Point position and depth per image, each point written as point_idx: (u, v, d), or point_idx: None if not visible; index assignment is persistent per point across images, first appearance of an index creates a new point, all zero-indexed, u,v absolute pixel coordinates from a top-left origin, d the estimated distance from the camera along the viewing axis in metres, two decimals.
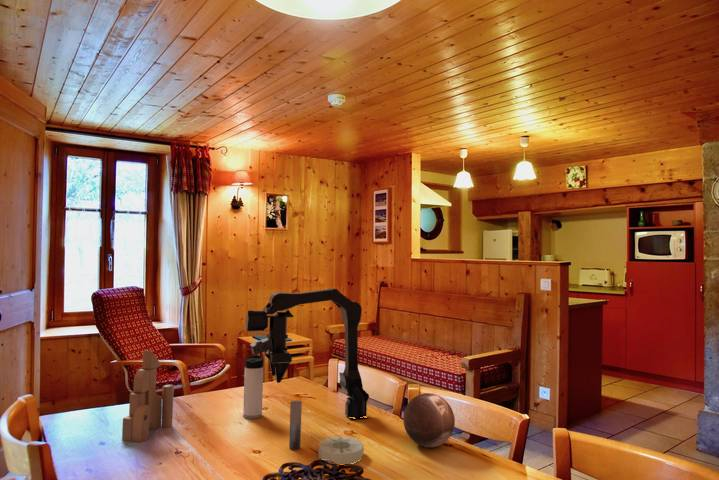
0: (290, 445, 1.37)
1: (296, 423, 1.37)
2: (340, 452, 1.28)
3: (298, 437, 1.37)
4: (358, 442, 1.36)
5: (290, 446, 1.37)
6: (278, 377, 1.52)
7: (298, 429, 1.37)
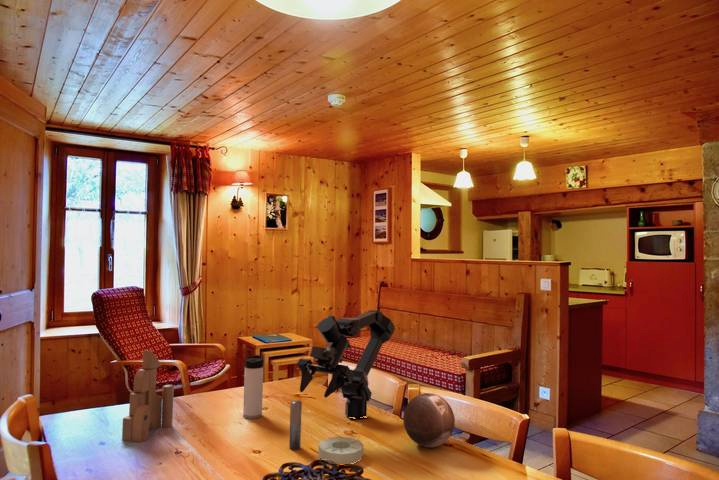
0: (290, 445, 1.37)
1: (296, 423, 1.37)
2: (340, 452, 1.28)
3: (298, 437, 1.37)
4: (358, 442, 1.36)
5: (290, 446, 1.37)
6: (329, 391, 1.44)
7: (298, 429, 1.37)
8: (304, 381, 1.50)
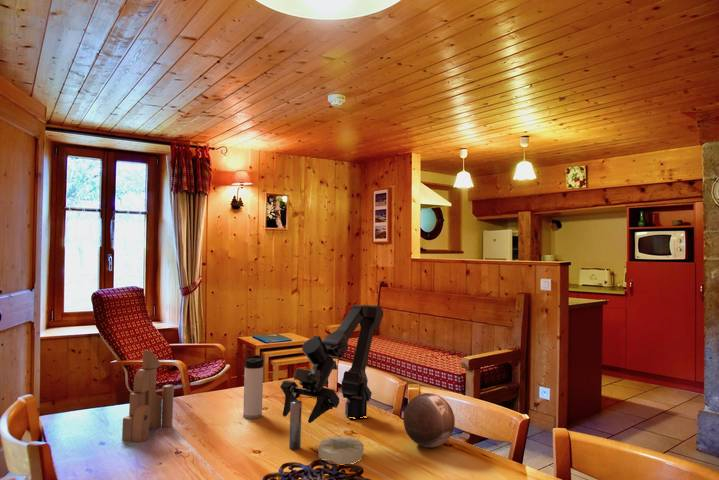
0: (290, 445, 1.37)
1: (296, 423, 1.37)
2: (340, 452, 1.28)
3: (298, 437, 1.37)
4: (358, 442, 1.36)
5: (290, 446, 1.37)
6: (313, 416, 1.37)
7: (298, 429, 1.37)
8: (288, 405, 1.43)
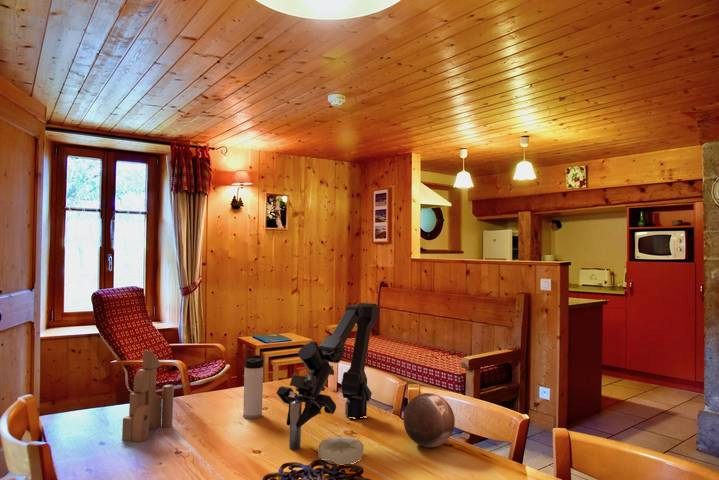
0: (290, 445, 1.37)
1: (296, 423, 1.37)
2: (340, 452, 1.28)
3: (298, 437, 1.37)
4: (358, 442, 1.36)
5: (290, 446, 1.37)
6: (301, 421, 1.37)
7: (298, 429, 1.37)
8: None
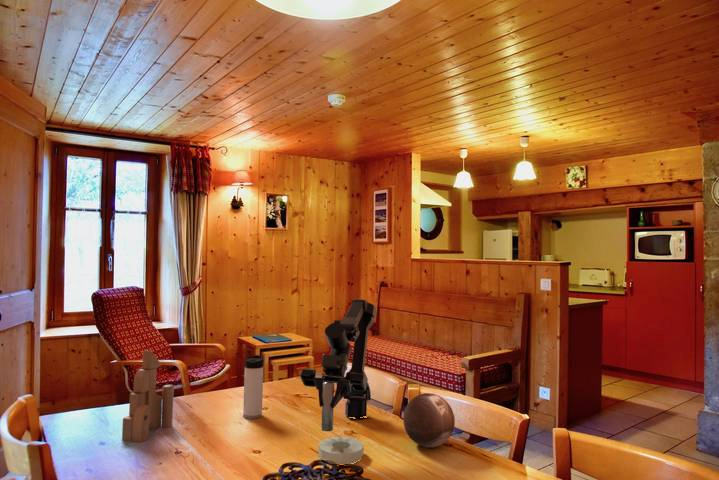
0: (324, 426, 1.33)
1: (330, 403, 1.33)
2: (340, 452, 1.28)
3: (332, 418, 1.34)
4: (358, 442, 1.36)
5: (324, 428, 1.33)
6: (336, 401, 1.34)
7: (332, 409, 1.34)
8: None
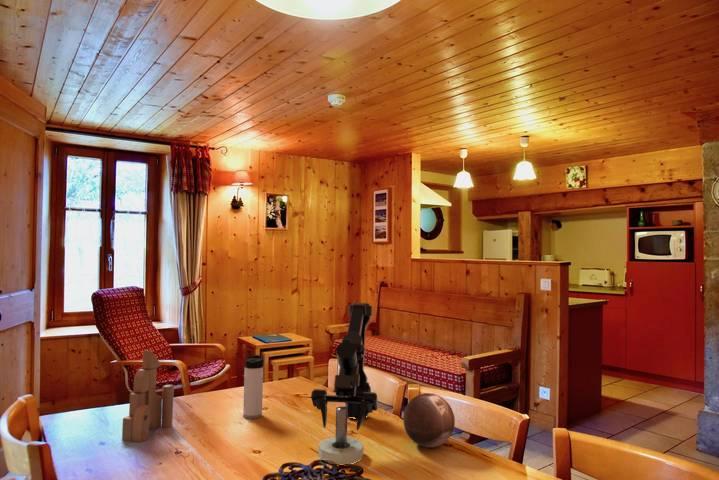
0: None
1: (344, 430, 1.32)
2: (340, 452, 1.28)
3: (346, 444, 1.33)
4: (358, 442, 1.36)
5: None
6: (360, 422, 1.33)
7: (346, 436, 1.33)
8: (325, 415, 1.35)
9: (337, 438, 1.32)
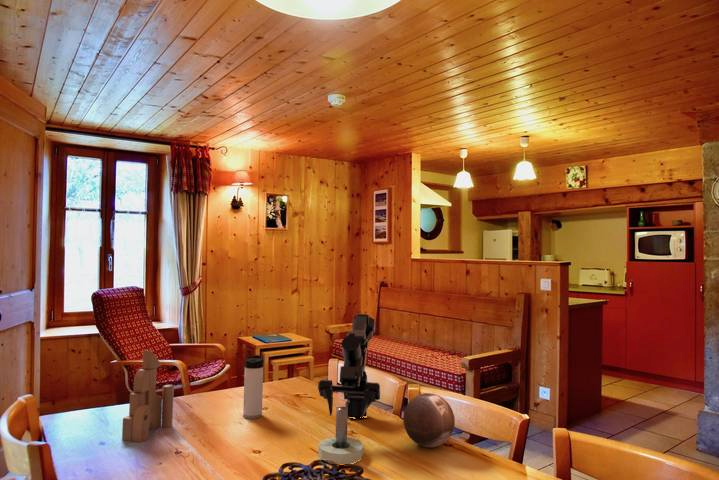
0: None
1: (345, 430, 1.32)
2: (340, 452, 1.28)
3: (346, 444, 1.33)
4: (358, 442, 1.36)
5: None
6: (364, 410, 1.42)
7: (346, 436, 1.33)
8: (331, 403, 1.44)
9: (337, 438, 1.32)
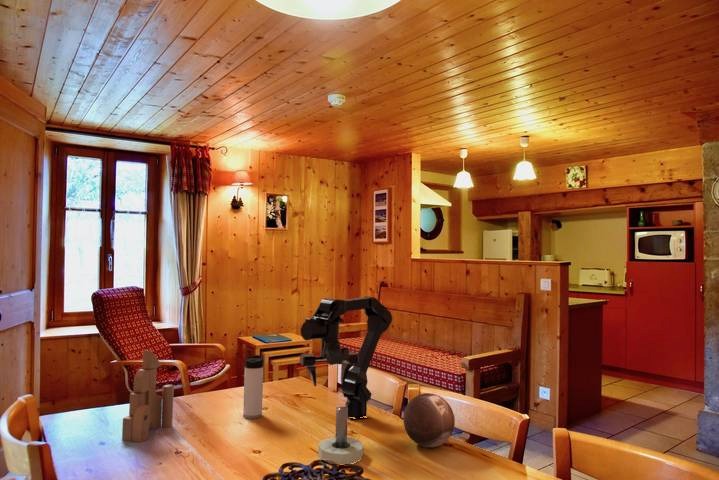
0: None
1: (345, 430, 1.32)
2: (340, 452, 1.28)
3: (346, 444, 1.33)
4: (358, 442, 1.36)
5: None
6: None
7: (346, 436, 1.33)
8: (315, 376, 1.55)
9: (337, 438, 1.32)
